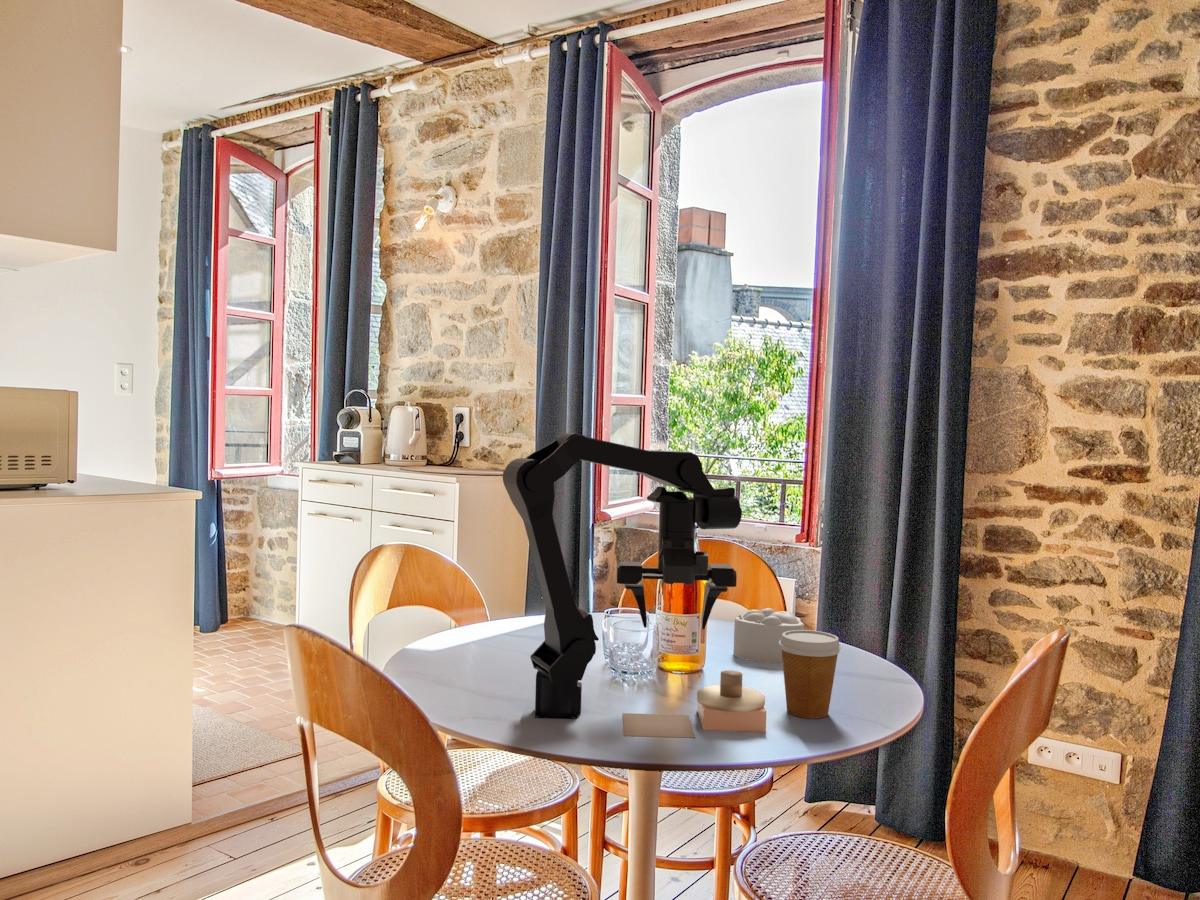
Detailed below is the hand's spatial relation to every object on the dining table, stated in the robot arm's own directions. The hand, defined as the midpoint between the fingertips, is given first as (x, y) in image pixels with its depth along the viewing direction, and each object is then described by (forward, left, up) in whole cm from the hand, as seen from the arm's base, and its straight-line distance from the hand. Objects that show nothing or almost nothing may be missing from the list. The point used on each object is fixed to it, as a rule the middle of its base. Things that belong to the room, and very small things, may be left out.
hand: (674, 627), depth 147 cm
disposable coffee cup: (+21, -3, -12) cm, 24 cm away
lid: (+8, -10, -8) cm, 15 cm away
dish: (+8, -10, -12) cm, 18 cm away
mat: (-3, -13, -12) cm, 18 cm away
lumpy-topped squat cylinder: (+21, +32, -12) cm, 40 cm away
